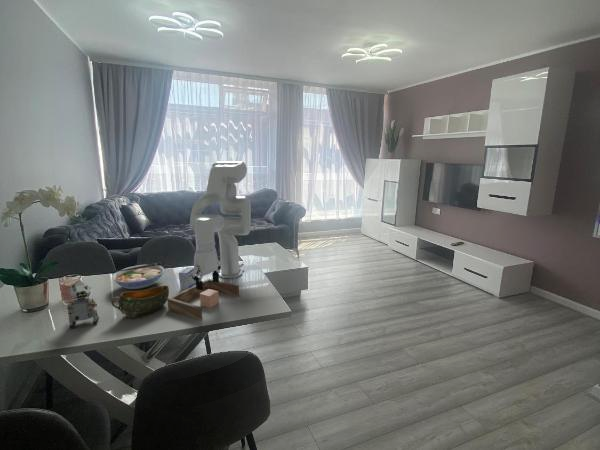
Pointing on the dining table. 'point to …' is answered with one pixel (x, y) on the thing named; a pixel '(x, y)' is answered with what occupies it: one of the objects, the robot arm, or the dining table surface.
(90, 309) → the figurine
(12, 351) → the dining table surface
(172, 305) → the wooden open frame
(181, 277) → the medicine box
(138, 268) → the ramen bowl
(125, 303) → the cup
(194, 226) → the robot arm
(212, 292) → the terracotta block
